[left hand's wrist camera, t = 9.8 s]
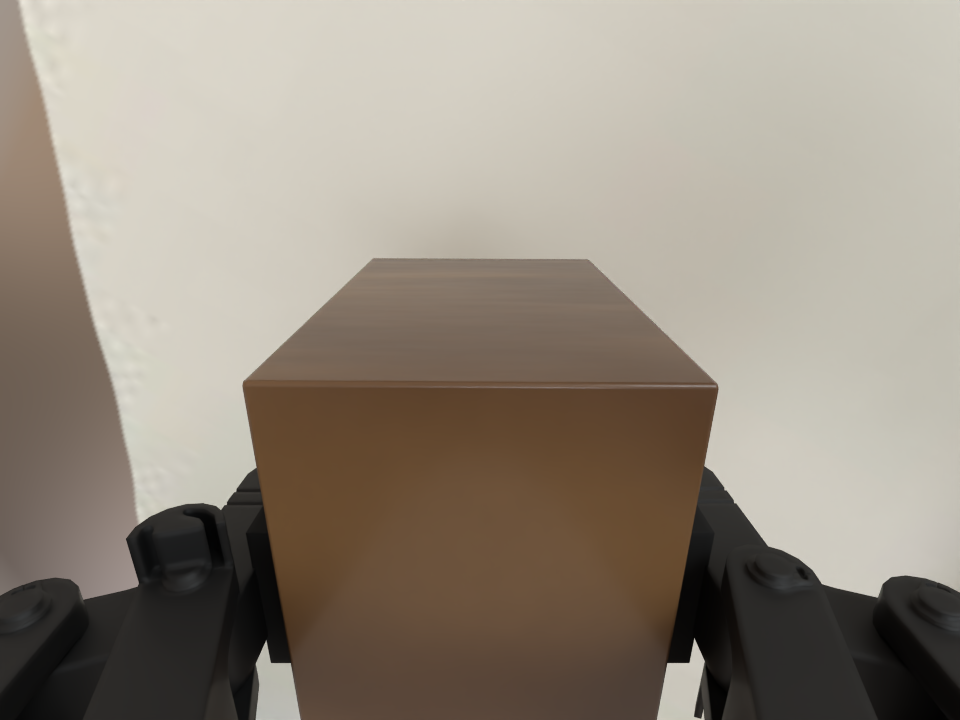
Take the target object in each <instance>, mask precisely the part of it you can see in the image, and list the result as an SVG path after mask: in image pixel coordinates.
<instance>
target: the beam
mask: <svg viewBox="0 0 960 720" xmlns="http://www.w3.org/2000/svg"><path fill="white" fill-rule="evenodd" d="M243 392H244V398H245V403H246V409H247V415H248V420H249V426H250V432H251V438H252V443H253V449H254V455H255V461H256V466H257V472H258V478H259V483H260V489H261V495H262V501H263V506H264V512H265V518H266V523H267V529H268V535H269V541H270V546H271V552H272V558H273V563H274V569H275V575H276V581H277V586H278V592H279V598H280V604H281V609H282V615H283V621H284V626H285V632H286V638H287V644H288V649H289V655H290V661H291V666H292V672H293V678H294V684H295V689H296V695H297V701H298V706H299V712H300V718H301V720H657V715H658V710H659V704H660V699H661V694H662V688H663V683H664V678H665V672H666V667H667V662H668V656H669V651H670V646H671V640H672V635H673V630H674V624H675V619H676V613H677V608H678V603H679V597H680V592H681V587H682V581H683V576H684V571H685V565H686V560H687V555H688V549H689V544H690V539H691V533H692V528H693V522H694V517H695V512H696V506H697V501H698V496H699V490H700V485H701V480H702V474H703V469H704V464H705V458H706V453H707V448H708V442H709V437H710V431H711V426H712V421H713V415H714V410H715V405H716V399H717V394H718V384H717V383H716V382H715V381H714V380H713V379H712V378H711V377H710V376H709V375H708V374H707V373H706V372H705V371H703V370H702V369H701V368H700V367H699V366H698V365H697V364H696V363H695V362H694V361H693V360H692V359H691V358H690V357H689V356H688V355H687V354H686V353H685V352H684V351H683V350H682V349H681V348H680V347H679V346H678V345H676V344H675V343H674V342H673V341H672V340H671V339H670V338H669V337H668V336H667V335H666V334H665V333H664V332H663V331H662V330H661V329H660V328H659V327H658V326H657V325H656V324H655V323H654V322H653V321H652V320H651V319H650V318H648V317H647V316H646V315H645V314H644V313H643V312H642V311H641V310H640V309H639V308H638V307H637V306H636V305H635V304H634V303H633V302H632V301H631V300H630V299H629V298H628V297H627V296H626V295H625V294H624V293H623V292H621V291H620V290H619V289H618V288H617V287H616V286H615V285H614V284H613V283H612V282H611V281H610V280H609V279H608V278H607V277H606V276H605V275H604V274H603V273H602V272H601V271H600V270H599V269H598V268H597V267H596V266H594V265H593V264H592V263H591V262H590V261H589V260H581V259H392V258H374V259H372V260H371V261H370V262H369V263H368V264H367V265H366V266H365V267H364V268H363V269H362V270H361V271H359V272H358V273H357V274H356V275H355V276H354V277H353V278H352V279H351V280H350V281H349V282H348V283H347V284H346V285H345V286H344V287H343V288H342V289H341V290H339V291H338V292H337V293H336V294H335V295H334V296H333V297H332V298H331V299H330V300H329V301H328V302H327V303H326V304H325V305H324V306H323V307H322V308H320V309H319V310H318V311H317V312H316V313H315V314H314V315H313V316H312V317H311V318H310V319H309V320H308V321H307V322H306V323H305V324H304V325H303V326H302V327H300V328H299V329H298V330H297V331H296V332H295V333H294V334H293V335H292V336H291V337H290V338H289V339H288V340H287V341H286V342H285V343H284V344H283V345H281V346H280V347H279V348H278V349H277V350H276V351H275V352H274V353H273V354H272V355H271V356H270V357H269V358H268V359H267V360H266V361H265V362H264V363H263V364H261V365H260V366H259V367H258V368H257V369H256V370H255V371H254V372H253V373H252V374H251V375H250V376H249V377H248V378H247V379H246V380H245V381H244V382H243Z"/></svg>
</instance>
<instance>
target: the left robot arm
mask: <svg viewBox="0 0 960 720" xmlns="http://www.w3.org/2000/svg"><path fill="white" fill-rule="evenodd" d="M126 541H127V544H128V547H129V551H130V554H131V557H132V561H133V564H134V568H135V571H136V574H137V578H138V581H139V585H138V587H135V588H132V589H129V590H125V591H121V592H116V593H112V594H107V595H103V596H98V597H94V598H90V599H85V600H83V598H82V595H81V592H80V589H79V587H78V586H77V585H76V584H75V583H74V582H73V581H71V580H69V579H61V578H50V579H44V580H38V581H34V582H31V583H28V584H25V585H22V586H19V587H17V588H14V589H12V590H10V591H8V592H6V593H4V594H3V595H1V596H0V720H255V719H256V710H257V700H258V691H259V680H258V673H257V668H256V662H257V659H258V657H259V655H260V653H261V650H262V648H263V646H264V644H265V641H266V640H267V645H268V650H269V655H270V660H271V663H291V661H290V655H289V649H288V644H287V638H286V632H285V626H284V621H283V615H282V609H281V604H280V598H279V592H278V586H277V581H276V575H275V569H274V563H273V558H272V552H271V546H270V541H269V535H268V529H267V523H266V518H265V512H264V506H263V501H262V495H261V489H260V483H259V478H258V472H257V468H256V469H254V470H253V471H251V472H250V473H248V474H247V476H246V477H245V479H244V480H243V481H242V483H241V484H240V485H239V487H238V488H237V491H236V492H234V493H233V495H232V496H231V497H230V499H229V500H228V502H227V505H225V506H224V507H223V508H222V510H220V509H219V508H218V507H216V506H213V505H208V504H204V503H200V504H185V505H181V506H177V507H173V508H169V509H166V510H164V511H162V512H160V513H157V514H155V515H153V516H151V517H149V518H148V519H146V520H145V521H143V522H142V523H141V524H139V525H138V526H136V527H135V528H134V530H133V531H132V532H131V533H130V534H129V536H128V537H127V538H126ZM694 638H695V640H696V642H697V645H698V647H699V649H700V651H701V654H702V656H703V658H704V660H705V663H704V668H703V673H702V678H701V682H700V687H699V692H698V697H697V701H696V707H695V714H694V717H697V718H701V717H702V713H703V709H704V718H705V720H960V593H959V592H957V591H956V590H954V589H952V588H950V587H948V586H945V585H943V584H940V583H937V582H934V581H931V580H928V579H925V578H918V577H912V576H898V577H891V578H890V579H889V580H887V581H886V582H885V583H884V584H883V585H882V588H881V591H880V594H879V597H878V598H876V597H872V596H867V595H863V594H859V593H854V592H850V591H845V590H841V589H837V588H833V587H829V586H826V585H823V584H821V582H820V581H819V579H818V578H817V576H816V575H815V573H814V572H813V570H812V569H810V568H809V567H808V566H807V565H805V564H804V563H803V562H802V561H800V560H799V559H798V558H796V557H794V556H792V555H790V554H788V553H786V552H784V551H782V550H779V549H775V548H772V547H768V546H767V544H766V543H765V542H764V540H763V539H762V538H761V536H760V535H759V534H758V532H757V531H756V530H755V528H754V527H753V526H752V524H751V523H750V521H749V520H748V519H747V517H746V516H745V515H744V513H743V512H742V511H741V509H740V508H739V507H738V505H737V504H734V500H733V499H732V497H731V496H730V495H729V493H728V492H727V491H725V490H724V487H723V485H722V484H721V483H720V481H719V480H718V478H717V477H716V476H715V474H714V473H713V472H712V471H710V470H709V469H708V468H706V467H705V466H704V469H703V474H702V480H701V485H700V490H699V496H698V501H697V506H696V512H695V517H694V522H693V528H692V533H691V539H690V544H689V549H688V555H687V560H686V565H685V571H684V576H683V581H682V587H681V592H680V597H679V603H678V608H677V613H676V619H675V624H674V630H673V635H672V640H671V646H670V651H669V656H668V662H667V663H689V662H690V657H691V652H692V647H693V642H694Z"/></svg>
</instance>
